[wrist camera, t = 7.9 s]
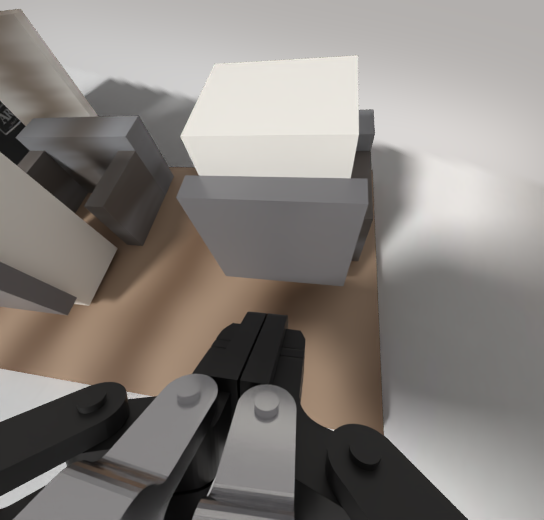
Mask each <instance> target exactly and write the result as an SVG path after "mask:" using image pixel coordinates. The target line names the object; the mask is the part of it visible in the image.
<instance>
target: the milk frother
mask: <svg viewBox="0 0 544 520" xmlns="http://www.w3.org/2000/svg"><path fill="white" fill-rule="evenodd" d="M25 127H26V126H25V125H24V124H23V123H22V122H21V121H20V120H19V119H18V118H17V117H16V116H15V115H14V114H13V113H12V112H11V111H10V110H9V109H8V108H7V107H6V106H5V105H4V104H3V103H2V102H1V101H0V152H1V153H2V154H3V155H5V156H6V157H7V158H8V159H9V160H11V161H12V162H13V163H14V164H16V165H18V164H19V163H20V162H21V160H22V159H23V158H24V157H25V156H26V155H27V153H28V152H29V151H30V150H29V149H27V148H26V147H25V146H24V145H23V144H22V143H21V142H20V141H19V140H18V139H16V136H17V135H18V134H19V133H20V132H21V131H22V130H23V129H24V128H25Z"/></svg>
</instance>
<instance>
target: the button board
mask: <svg viewBox="0 0 544 520" xmlns="http://www.w3.org/2000/svg"><path fill="white" fill-rule="evenodd" d="M0 101H1V102H2V103H3V104H4V105H5V106H6V107H7V108H8V109H9V110H10V111H11V112H12V113H13V114H14V115H15V116H16V117H17V118H18V119H19V120H20V121H21V122H22V123H23V124H24V125H25V126H26V127H25V128H24V129H23V130H22V131H21V132H20V133H19V134H18V135H17V136H16V139H18V140H19V141H20V142H21V143H22V144H23V145H24V146H25V147H26V148H27V149H29V150H30V151H29V152H28V153H27V155H26V156H25V157H24V158H23V159H22V160H21V162H20V163H19V164H18V165H17V166H18V167H19V168H20V169H22V170H23V171H24V172H25V173H26V174H28V175H29V176H30V177H31V178H33V179H34V180H35V181H36V182H37V183H39V184H40V185H41V186H42V187H43V188H45V189H46V190H47V191H48V192H50V193H51V194H52V195H53V196H54V197H56V198H57V199H58V200H59V201H61V202H62V203H63V204H64V205H65V206H67V207H68V208H69V209H70V210H71V211H73V212H74V213H75V214H76V215H78V216H79V217H80V218H81V219H82V220H84V221H85V222H86V223H87V224H88V225H90V226H91V227H92V228H93V229H95V230H96V231H97V232H98V233H99V234H101V235H102V236H103V237H104V238H105V239H107V240H108V241H109V242H110V243H112V244H113V245H114V246H115V247H116V248H118V249H117V251H116V253H115V255H114V257H113V259H112V261H111V263H110V265H109V267H108V269H107V271H106V273H105V275H104V277H103V279H102V281H101V283H100V285H99V287H98V289H97V291H96V293H95V295H94V297H93V299H92V301H91V303H90V305H89V306H88V305H79V304H74V305H73V307H72V308H71V310H70V312H69V314H68V315H60V314H53V313H45V312H37V311H30V310H22V309H14V308H7V307H0V368H1V369H6V370H12V371H17V372H23V373H28V374H34V375H39V376H45V377H50V378H56V379H61V380H67V381H72V382H78V383H83V384H89V385H94V384H98V383H103V382H116V383H119V384H122V385H123V386H124V387H125V389H126V391H127V392H133V393H138V394H144V395H149V396H158V395H159V394H160V392H161V391H162V390H163V389H164V388H165V387H166V386H167V385H168V384H169V383H170V382H172V381H173V380H175V379H177V378H179V377H182V376H185V375H189V374H192V373H193V371H194V370H195V369H196V367H197V366H198V364H199V363H200V361H201V360H202V358H203V357H204V355H205V354H206V353H207V351H208V350H209V348H211V345H212V344H213V342H214V341H215V340H216V338H217V337H218V335H219V334H220V332H221V331H222V330H223V329H224V328H226V327H227V326H229V325H230V324H232V323H238V324H241V322H242V320H243V319H244V317H245V315H246V314H247V312H248V311H250V312H260V313H267V314H268V313H270V314H280V315H288V329H292V330H301V332H302V334H303V336H304V337H305V339H306V342H305V359H304V376H303V386H302V396H301V406H302V408H303V410H304V411H305V413H306V414H307V415H308V416H309V417H310V418H311V419H312V420H313V421H315V422H316V423H318V424H320V425H321V426H323V427H326V428H330V429H337V428H338V427H340V426H342V425H345V424H361V425H365V426H368V427H370V428H373V429H375V430H376V431H378V432H380V433H381V434H382V435H384V431H383V407H382V384H381V360H380V337H379V313H378V290H377V266H376V243H375V219H374V196H373V172H372V170H371V147H372V143H373V139H374V135H375V128H374V111H373V110H359V137H358V142H357V147H356V153H355V158H354V163H353V168H352V174H351V178H360V179H368V207H367V210H366V214H365V217H364V220H363V223H362V227H361V230H360V233H359V237H358V240H357V243H356V247H355V250H354V253H353V256H352V260H351V263H350V266H349V270H348V273H347V276H346V280H345V283H344V286H332V285H321V284H310V283H298V282H287V281H276V280H265V279H253V278H242V277H231V276H226V275H225V274H224V272H223V271H222V269H221V267H220V266H219V264H218V263H217V261H216V260H215V258H214V256H213V255H212V253H211V252H210V250H209V249H208V247H207V245H206V244H205V242H204V241H203V239H202V238H201V236H200V234H199V233H198V231H197V230H196V228H195V227H194V225H193V223H192V222H191V220H190V219H189V217H188V215H187V214H186V212H185V211H184V209H183V208H182V206H181V204H180V203H179V201H178V200H177V198H176V196H177V194H178V192H179V189H180V187H181V184H182V182H183V180H184V177H185V175H197V176H199V175H198V173H197V171H196V168H193V167H168V165H167V163H166V162H165V160H164V158H163V157H162V155H161V153H160V151H159V150H158V148H157V146H156V145H155V143H154V141H153V140H152V138H151V136H150V134H149V133H148V131H147V129H146V128H145V126H144V124H143V122H142V121H141V119H140V117H139V116H101V117H99V116H98V115H97V114H96V112H95V111H94V109H93V108H92V107H91V105H90V104H89V103H88V101H87V100H86V98H85V97H84V96H83V94H82V93H81V91H80V90H79V89H78V87H77V86H76V85H75V83H74V82H73V80H72V79H71V78H70V76H69V75H68V74H67V72H66V71H65V69H64V68H63V67H62V65H61V64H60V62H59V61H58V60H57V58H56V57H55V56H54V54H53V53H52V52H51V50H50V49H49V47H48V46H47V45H46V43H45V42H44V41H43V39H42V38H41V36H40V35H39V34H38V32H37V31H36V29H35V28H34V27H33V25H32V24H31V23H30V21H29V20H28V18H27V17H26V16H25V14H24V13H23V11H22V10H21V9H15V10H6V11H0Z"/></svg>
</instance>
